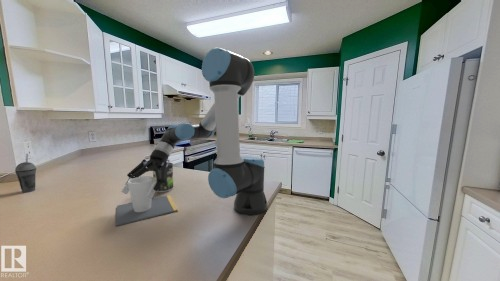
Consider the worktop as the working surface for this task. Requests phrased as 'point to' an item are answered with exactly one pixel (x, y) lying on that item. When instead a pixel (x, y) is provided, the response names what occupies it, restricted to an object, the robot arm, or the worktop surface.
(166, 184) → the coffee can
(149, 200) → the foam cup
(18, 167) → the beverage cup
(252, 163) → the robot arm
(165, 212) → the mat
